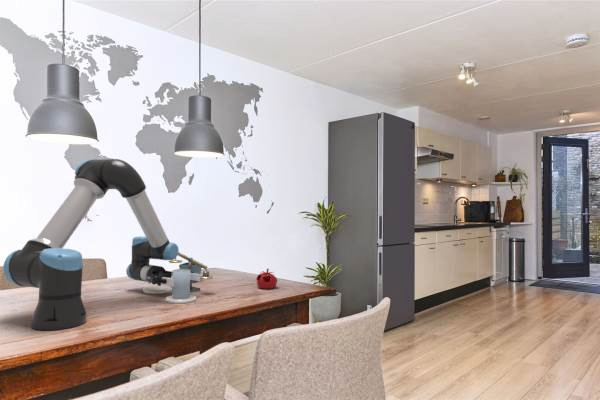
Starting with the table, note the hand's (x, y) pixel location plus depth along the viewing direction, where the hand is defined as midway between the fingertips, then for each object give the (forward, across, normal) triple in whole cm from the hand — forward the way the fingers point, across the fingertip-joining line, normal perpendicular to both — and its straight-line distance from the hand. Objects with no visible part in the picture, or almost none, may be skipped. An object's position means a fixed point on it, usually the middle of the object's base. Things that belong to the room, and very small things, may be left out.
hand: (186, 280), depth 160 cm
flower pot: (-32, -30, -9) cm, 45 cm away
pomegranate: (+8, -42, -9) cm, 44 cm away
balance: (-14, -14, -8) cm, 22 cm away
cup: (-3, 0, -7) cm, 8 cm away
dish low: (-3, 0, -8) cm, 9 cm away
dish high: (-25, -5, -8) cm, 27 cm away
